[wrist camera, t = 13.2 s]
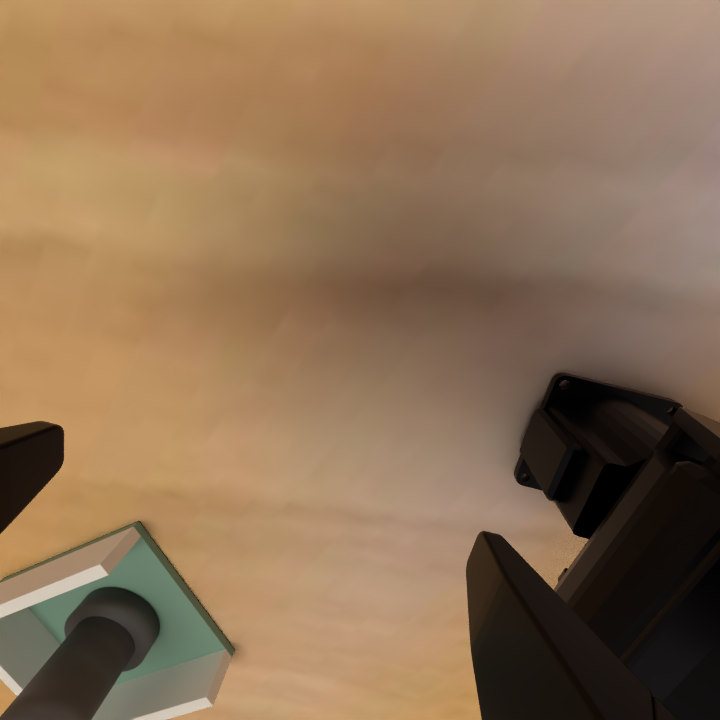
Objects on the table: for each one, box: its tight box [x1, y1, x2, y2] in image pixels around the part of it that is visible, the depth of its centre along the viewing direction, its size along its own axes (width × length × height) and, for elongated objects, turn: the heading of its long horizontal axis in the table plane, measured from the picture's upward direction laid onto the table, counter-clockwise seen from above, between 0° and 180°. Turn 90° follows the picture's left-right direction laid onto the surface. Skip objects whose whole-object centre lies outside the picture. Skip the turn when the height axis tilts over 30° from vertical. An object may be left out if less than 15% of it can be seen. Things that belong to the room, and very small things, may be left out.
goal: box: [0, 521, 234, 720], centre depth 26 cm, size 12×12×4 cm
